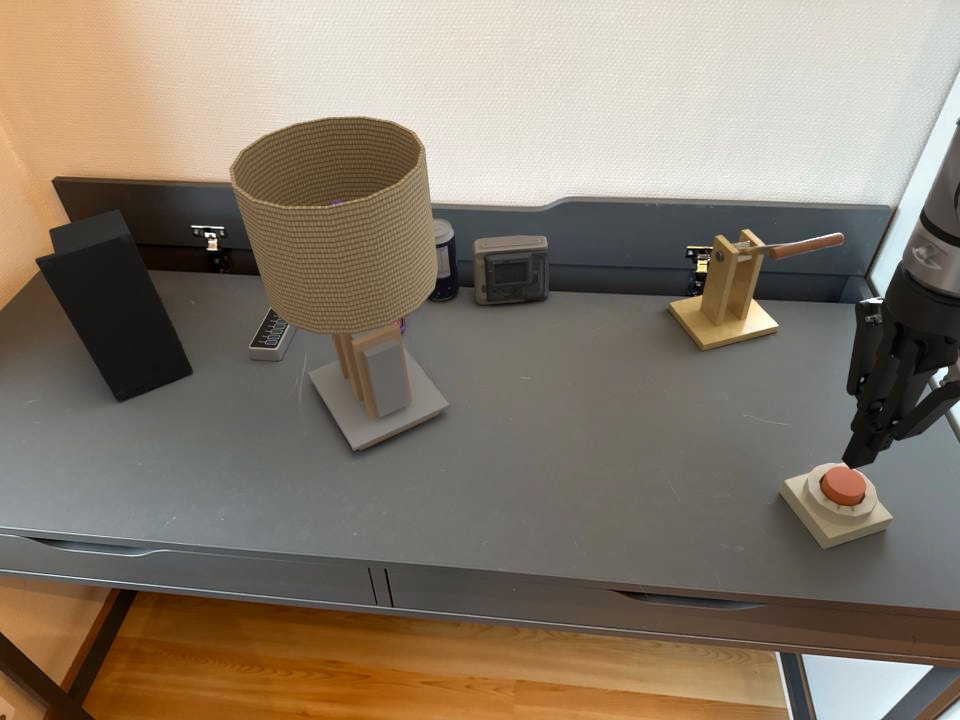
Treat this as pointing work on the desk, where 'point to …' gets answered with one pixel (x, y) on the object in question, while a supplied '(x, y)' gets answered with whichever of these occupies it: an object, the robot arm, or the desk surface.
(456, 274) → the beverage can
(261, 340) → the multiport hub
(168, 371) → the bookend
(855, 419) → the robot arm
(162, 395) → the desk surface
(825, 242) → the lever
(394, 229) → the desk lamp
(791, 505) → the button box
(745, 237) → the bracket
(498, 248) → the camera
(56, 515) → the desk surface
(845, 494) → the button
